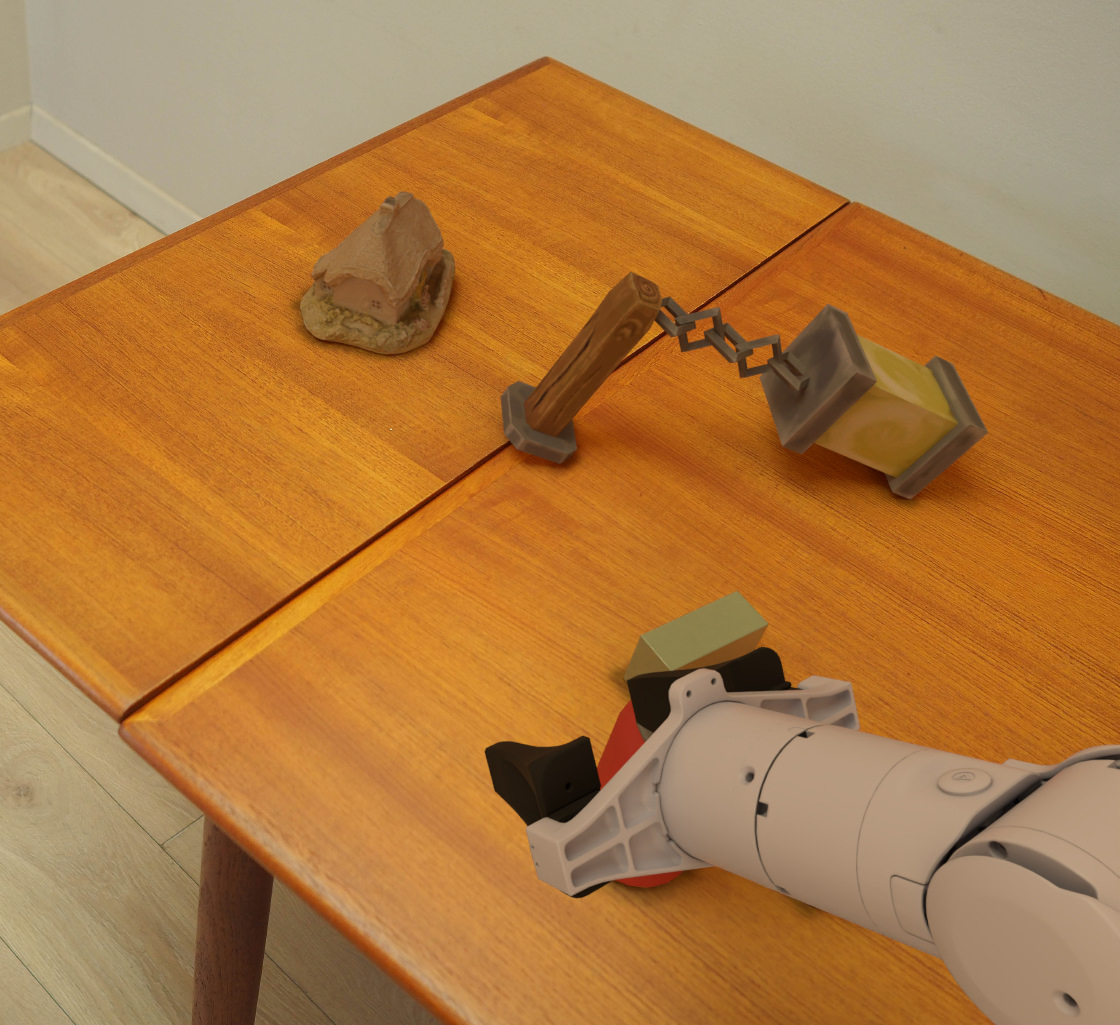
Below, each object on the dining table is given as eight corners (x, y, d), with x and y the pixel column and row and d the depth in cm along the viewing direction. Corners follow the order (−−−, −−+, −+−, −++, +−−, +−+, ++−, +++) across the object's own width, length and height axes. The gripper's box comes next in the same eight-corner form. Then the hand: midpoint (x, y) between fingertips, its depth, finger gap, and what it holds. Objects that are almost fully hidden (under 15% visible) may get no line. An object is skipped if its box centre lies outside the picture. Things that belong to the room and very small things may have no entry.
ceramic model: (406, 375, 91) (420, 268, 83) (279, 326, 93) (282, 218, 86) (473, 284, 100) (492, 181, 93) (357, 243, 102) (366, 139, 95)
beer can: (553, 806, 66) (600, 685, 57) (650, 770, 68) (708, 648, 60) (612, 910, 62) (672, 796, 54) (712, 867, 65) (785, 752, 56)
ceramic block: (746, 666, 75) (769, 623, 72) (652, 714, 71) (671, 671, 68) (716, 633, 76) (737, 589, 73) (622, 678, 73) (640, 634, 70)
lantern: (803, 502, 99) (499, 381, 88) (953, 363, 88) (626, 206, 78) (826, 571, 94) (505, 451, 83) (988, 432, 83) (643, 274, 72)
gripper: (938, 620, 40) (675, 587, 52) (622, 790, 34) (401, 708, 45) (971, 805, 42) (707, 732, 53) (673, 1005, 35) (445, 871, 47)
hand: (569, 731), depth 50 cm, fingers open, 7 cm apart
